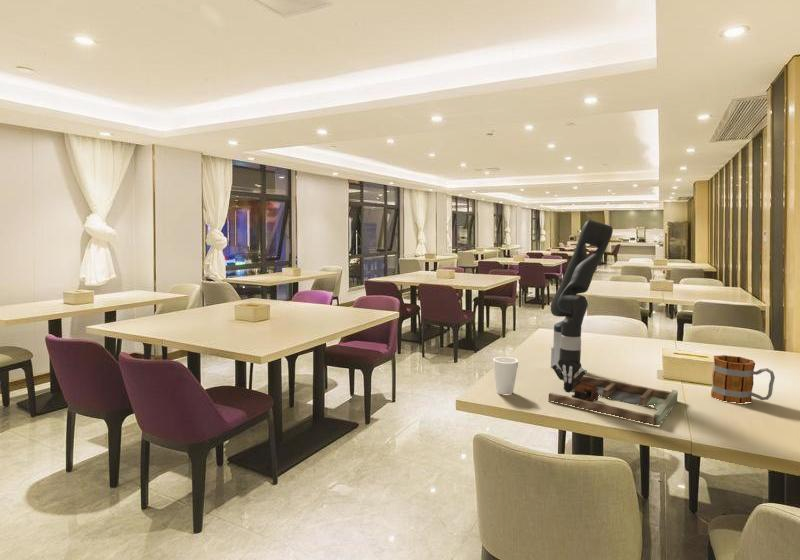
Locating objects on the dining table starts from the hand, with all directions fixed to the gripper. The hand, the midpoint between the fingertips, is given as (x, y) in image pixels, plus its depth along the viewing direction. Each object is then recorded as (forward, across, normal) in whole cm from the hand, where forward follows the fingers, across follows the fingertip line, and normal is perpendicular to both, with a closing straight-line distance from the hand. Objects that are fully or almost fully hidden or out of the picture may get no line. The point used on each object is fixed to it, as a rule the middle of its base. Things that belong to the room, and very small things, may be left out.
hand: (568, 391), depth 184 cm
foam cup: (+2, +21, +11) cm, 24 cm away
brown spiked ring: (+2, -7, +1) cm, 8 cm away
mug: (+2, -51, -39) cm, 64 cm away
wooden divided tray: (+2, -14, -6) cm, 16 cm away
